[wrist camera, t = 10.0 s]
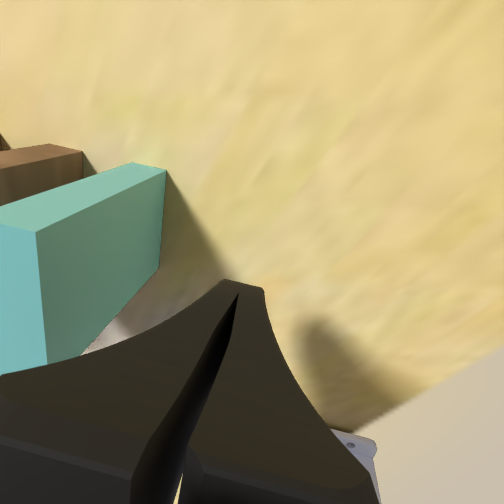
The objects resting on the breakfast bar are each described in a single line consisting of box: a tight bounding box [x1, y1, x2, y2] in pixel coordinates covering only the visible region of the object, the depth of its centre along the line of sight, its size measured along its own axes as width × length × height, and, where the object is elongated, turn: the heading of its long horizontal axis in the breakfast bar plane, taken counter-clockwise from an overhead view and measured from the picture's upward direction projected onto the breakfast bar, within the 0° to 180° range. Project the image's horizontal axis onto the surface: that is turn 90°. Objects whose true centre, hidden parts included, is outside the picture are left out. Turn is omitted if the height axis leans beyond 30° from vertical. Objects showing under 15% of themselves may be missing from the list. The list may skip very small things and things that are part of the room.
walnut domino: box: [0, 144, 83, 206], centre depth 13 cm, size 2×5×8 cm, turn 169°
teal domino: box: [0, 162, 167, 376], centre depth 12 cm, size 2×5×8 cm, turn 169°
